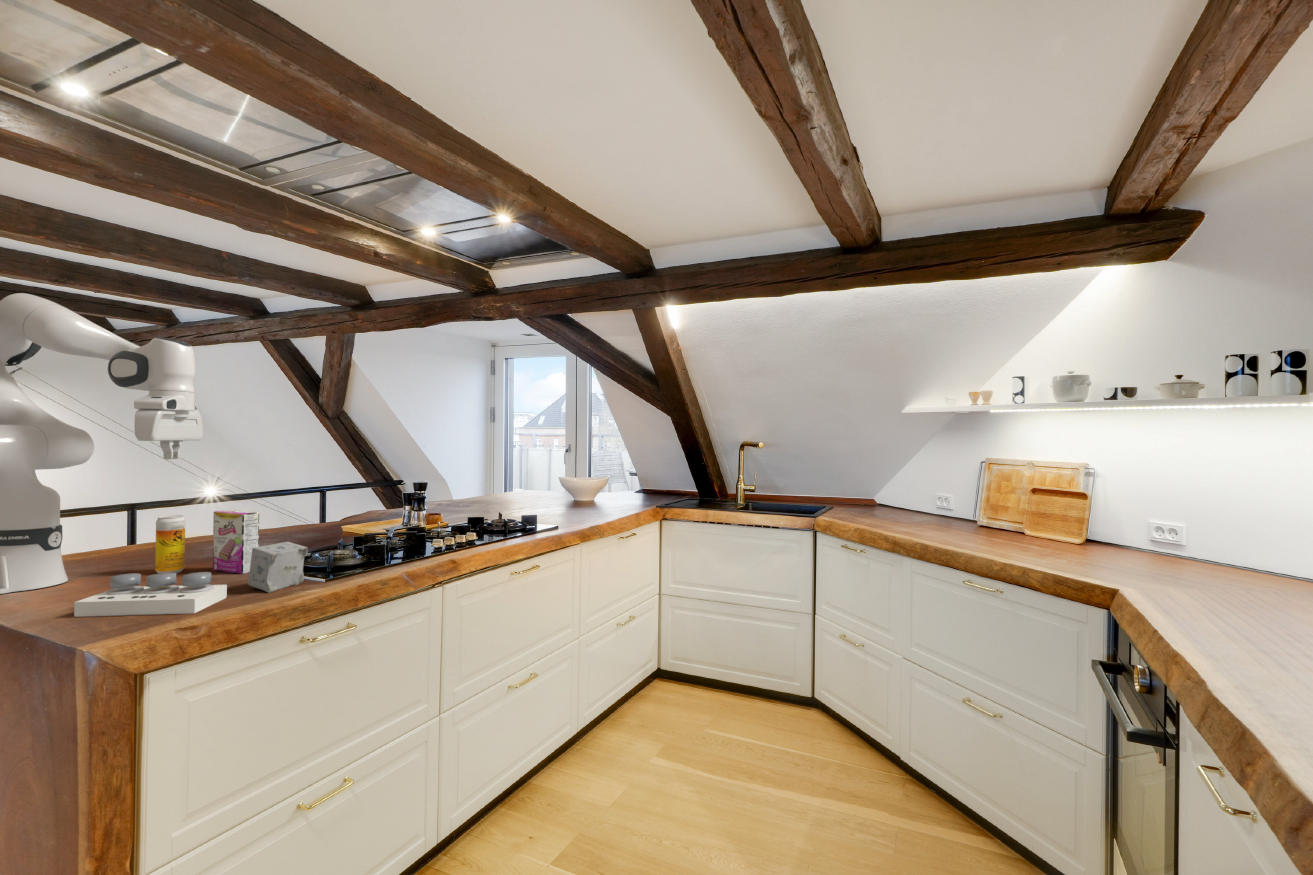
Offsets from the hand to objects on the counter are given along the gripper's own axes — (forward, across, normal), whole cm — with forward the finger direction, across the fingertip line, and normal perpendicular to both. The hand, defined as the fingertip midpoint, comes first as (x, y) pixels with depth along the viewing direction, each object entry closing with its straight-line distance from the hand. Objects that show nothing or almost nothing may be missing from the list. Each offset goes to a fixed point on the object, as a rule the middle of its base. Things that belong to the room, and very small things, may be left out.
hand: (171, 459), depth 145 cm
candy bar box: (+31, -14, +8) cm, 35 cm away
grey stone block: (+31, +5, +27) cm, 42 cm away
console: (+31, +20, +9) cm, 38 cm away
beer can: (+31, -14, -8) cm, 35 cm away
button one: (+27, +18, +16) cm, 36 cm away
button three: (+27, +18, +9) cm, 33 cm away
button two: (+27, +18, +2) cm, 32 cm away
